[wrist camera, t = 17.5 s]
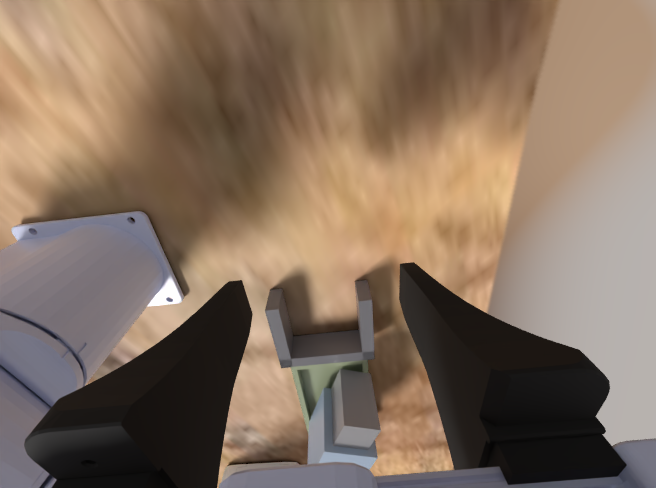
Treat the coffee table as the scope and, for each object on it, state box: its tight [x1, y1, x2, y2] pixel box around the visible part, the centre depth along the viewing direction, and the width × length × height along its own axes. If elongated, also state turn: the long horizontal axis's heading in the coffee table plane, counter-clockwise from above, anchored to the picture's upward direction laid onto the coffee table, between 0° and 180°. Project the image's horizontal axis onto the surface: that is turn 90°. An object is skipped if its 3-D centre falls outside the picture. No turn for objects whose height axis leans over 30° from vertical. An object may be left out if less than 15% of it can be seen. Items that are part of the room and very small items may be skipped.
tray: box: [291, 360, 368, 435], centre depth 29 cm, size 7×12×2 cm, turn 6°
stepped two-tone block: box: [308, 369, 381, 470], centre depth 26 cm, size 4×9×6 cm, turn 164°
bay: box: [265, 280, 375, 368], centre depth 24 cm, size 8×6×2 cm
